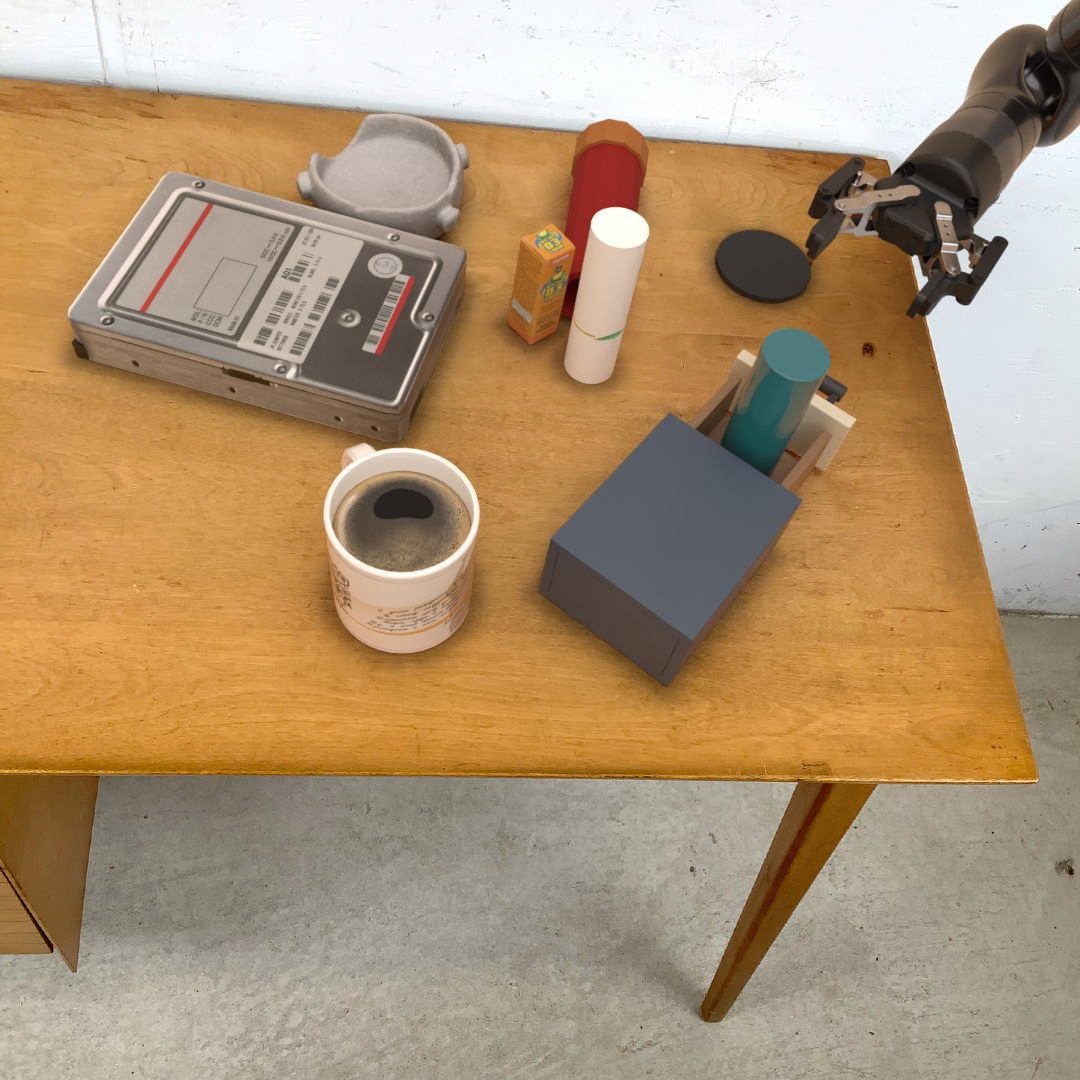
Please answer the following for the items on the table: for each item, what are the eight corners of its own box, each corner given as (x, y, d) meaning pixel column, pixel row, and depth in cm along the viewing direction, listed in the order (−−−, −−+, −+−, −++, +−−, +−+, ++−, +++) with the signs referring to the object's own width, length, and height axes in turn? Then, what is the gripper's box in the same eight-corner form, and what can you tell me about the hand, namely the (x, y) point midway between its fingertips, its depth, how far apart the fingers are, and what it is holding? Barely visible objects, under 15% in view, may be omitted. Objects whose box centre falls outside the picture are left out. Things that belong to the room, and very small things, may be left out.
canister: (783, 463, 80) (843, 352, 69) (753, 500, 78) (809, 392, 67) (733, 430, 82) (784, 316, 71) (701, 466, 79) (749, 354, 68)
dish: (287, 230, 91) (281, 185, 86) (348, 139, 98) (345, 93, 94) (440, 277, 90) (442, 233, 85) (490, 181, 97) (493, 136, 93)
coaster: (825, 267, 96) (828, 262, 95) (778, 318, 92) (780, 313, 91) (746, 220, 98) (748, 215, 98) (697, 268, 94) (698, 263, 93)
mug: (308, 640, 70) (293, 559, 61) (349, 499, 77) (341, 406, 67) (458, 665, 70) (465, 589, 61) (486, 523, 77) (496, 434, 67)
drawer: (749, 367, 87) (770, 319, 82) (854, 432, 84) (881, 387, 79) (633, 494, 79) (648, 450, 74) (745, 571, 76) (768, 531, 71)
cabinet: (648, 471, 81) (669, 411, 75) (770, 553, 78) (803, 499, 72) (537, 592, 74) (550, 538, 68) (667, 687, 71) (692, 640, 65)
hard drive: (177, 209, 90) (167, 168, 87) (467, 287, 89) (470, 249, 86) (77, 356, 81) (61, 317, 77) (401, 446, 80) (401, 410, 76)
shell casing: (640, 184, 99) (655, 122, 93) (622, 331, 89) (638, 271, 83) (571, 172, 99) (581, 108, 93) (545, 318, 88) (555, 257, 83)
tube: (558, 376, 85) (585, 239, 72) (569, 340, 87) (597, 201, 75) (608, 389, 85) (643, 254, 72) (617, 353, 87) (654, 215, 75)
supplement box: (531, 349, 86) (544, 261, 78) (506, 324, 88) (516, 234, 79) (560, 332, 88) (577, 244, 79) (535, 308, 89) (549, 218, 80)
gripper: (898, 92, 80) (797, 189, 73) (1061, 179, 77) (974, 291, 69) (861, 170, 86) (766, 267, 79) (1011, 253, 83) (926, 364, 75)
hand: (863, 278), depth 74 cm, fingers open, 8 cm apart
